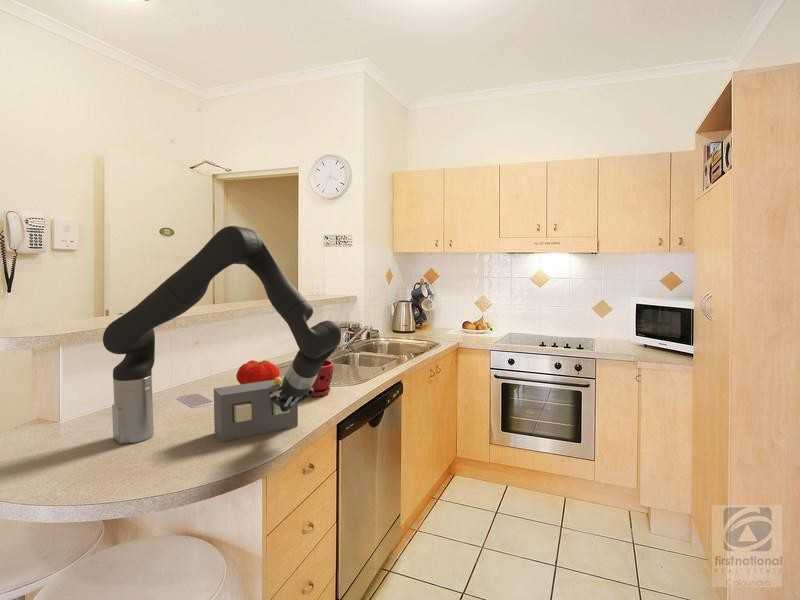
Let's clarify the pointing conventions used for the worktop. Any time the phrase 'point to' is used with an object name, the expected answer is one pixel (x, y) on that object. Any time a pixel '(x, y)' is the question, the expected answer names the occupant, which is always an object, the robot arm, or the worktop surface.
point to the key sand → (242, 412)
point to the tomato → (257, 372)
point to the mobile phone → (195, 400)
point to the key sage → (277, 409)
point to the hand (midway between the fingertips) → (283, 408)
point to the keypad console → (261, 410)
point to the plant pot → (323, 379)
